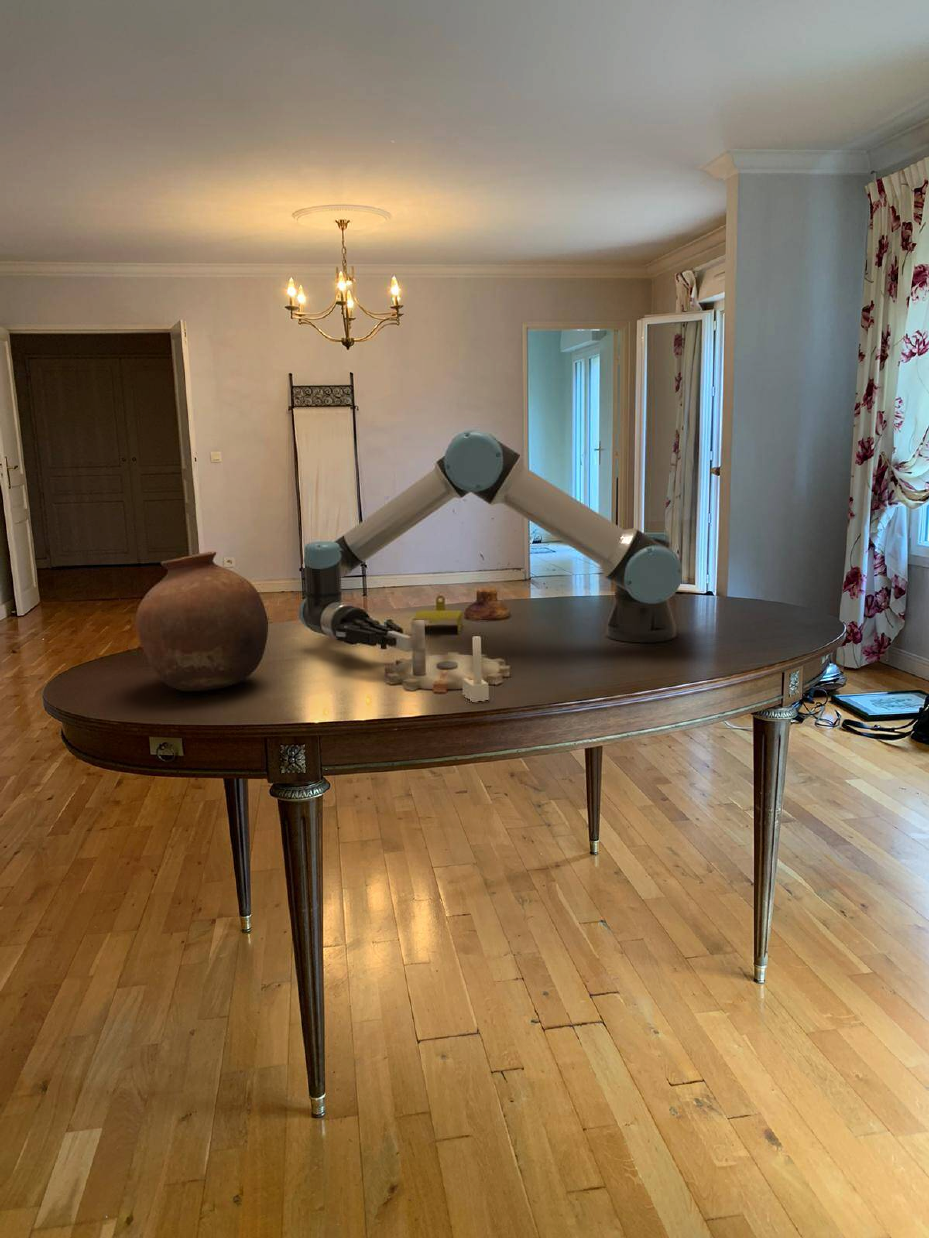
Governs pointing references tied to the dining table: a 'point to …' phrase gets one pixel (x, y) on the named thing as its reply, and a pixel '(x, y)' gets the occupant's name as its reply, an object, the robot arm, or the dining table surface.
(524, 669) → the dining table surface
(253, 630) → the pottery
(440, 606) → the bracket
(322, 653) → the dining table surface
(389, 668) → the sprocket
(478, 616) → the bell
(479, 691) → the index post
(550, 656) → the dining table surface
